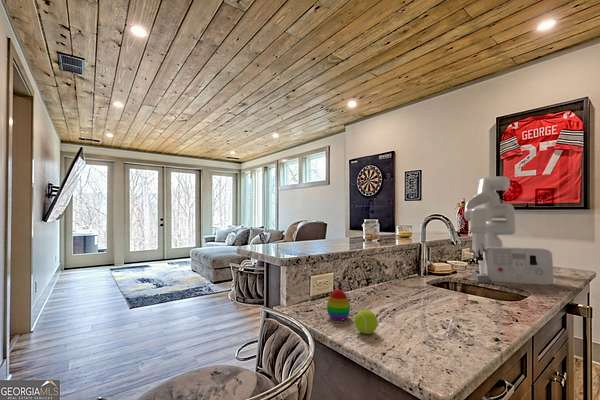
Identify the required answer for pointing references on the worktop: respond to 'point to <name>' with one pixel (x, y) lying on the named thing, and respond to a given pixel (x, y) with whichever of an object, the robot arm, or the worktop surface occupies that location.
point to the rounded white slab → (519, 265)
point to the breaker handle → (481, 267)
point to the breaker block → (480, 277)
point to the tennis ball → (365, 321)
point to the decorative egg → (338, 305)
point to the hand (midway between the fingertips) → (479, 264)
